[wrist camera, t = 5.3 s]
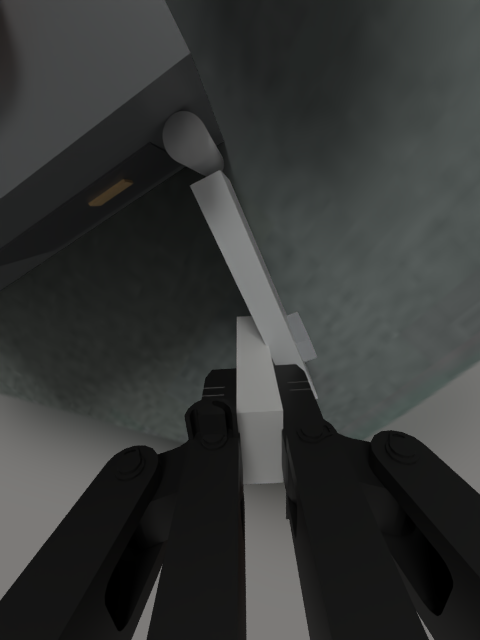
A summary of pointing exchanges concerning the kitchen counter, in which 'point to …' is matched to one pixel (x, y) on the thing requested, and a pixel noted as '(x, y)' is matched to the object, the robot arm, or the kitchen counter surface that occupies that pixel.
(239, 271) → the side door
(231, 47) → the kitchen counter surface
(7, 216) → the block
